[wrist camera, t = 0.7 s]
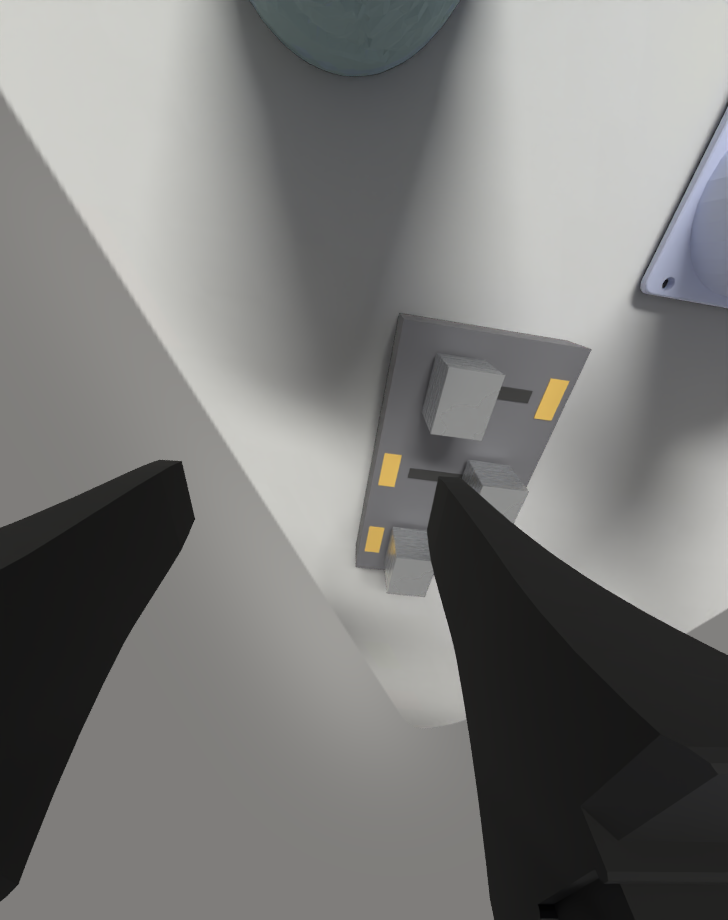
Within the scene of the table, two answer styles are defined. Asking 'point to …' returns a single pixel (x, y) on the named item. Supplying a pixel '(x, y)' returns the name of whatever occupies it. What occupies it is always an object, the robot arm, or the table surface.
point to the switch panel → (428, 455)
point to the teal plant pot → (354, 30)
